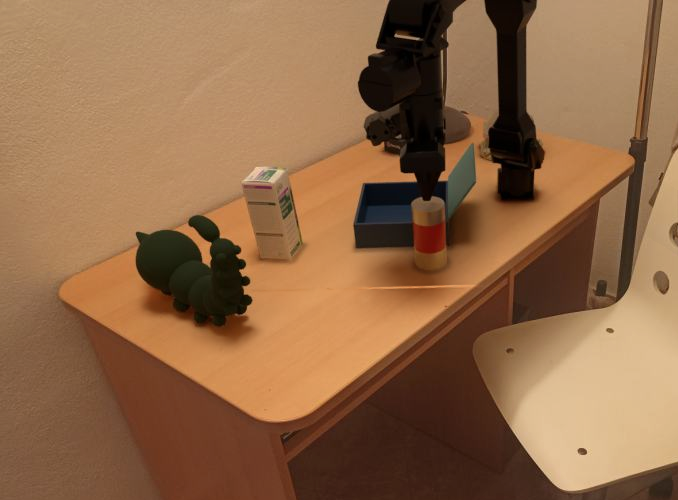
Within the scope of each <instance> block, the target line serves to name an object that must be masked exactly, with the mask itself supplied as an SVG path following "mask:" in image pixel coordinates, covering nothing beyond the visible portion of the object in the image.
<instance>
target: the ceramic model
mask: <svg viewBox="0 0 678 500" xmlns="http://www.w3.org/2000/svg"><path fill="white" fill-rule="evenodd" d="M498 115H499V108H498V109H494V110H493V112H492V113H491V114H490V115H489V116H488V117H487V118H486V119H485V120H484V122H483V127H482V137H483V141H481V142H480V143H479V145H478V146H479V148H480V149H479V154H480V156H481V157H482V158H483V159H485V160H487V161H491V162H492V158H491V154H490V149H489V148H488V145H489V135H488V130H489V128H490V127H492V126H493V124H494V122H495V121H496V119H497V117H498ZM529 116H530V118H531V119H532V121H533V123H534V124H535V120H534V118H533V115H531V114H529ZM537 141H538V142H539V144H540V145H541V147H542V148H543V145H544V144H543V141H542V139H540V138H539V139H538V138H537Z"/></svg>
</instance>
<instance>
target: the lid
mask: <svg viewBox="0 0 678 500" xmlns="http://www.w3.org/2000/svg"><path fill="white" fill-rule="evenodd" d="M447 181H448V218H449V220H450V219H451V218H452V216H454V214H455V212H456V211H457V210H458V208H459V207H460V206H461V204H462V202H463V201H464V200H465V199H466V197H467V196H468V195H469V193H471V191H472V189H473V188H474V186H475V185H476V183H477V169H476V153H475V143H474V142H471V143H470V144H469V146H468V147H467V149H466V150H465V152H464V153H463V155H462V156H461V157H460V159H459V160H458V161H457V163H456V164H455V166H454V167H453V169H452V170H451V172H450V173H449V174H448V176H447Z"/></svg>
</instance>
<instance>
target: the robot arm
mask: <svg viewBox="0 0 678 500" xmlns="http://www.w3.org/2000/svg"><path fill="white" fill-rule="evenodd" d="M466 1H467V0H388V2H387V5H386V9H385V13H384V16H383V19H382V23H381V26H380V29H379V33H378V36H377V39H376V43H375V49H376V50H380V52H378V53H377V52H373V53H372V54H369V55H368V56H367V63H368V65H367V66H365V67H363V69H362V70H361V71H360V74H359V77H358V81H357V89H358V93H359V95H360V97H361V99H362V101H363V102H364V103H365V105H366V106H367V107H368V108H369V109H370V110H372V111H374V112H373V113H370V114H368V115H367V116H366V117H365V119H364V122H363V128H364V131H365V133H366V134H365V138H366V140H368V141H370V144H371V145H372V146H373V147H378V146H380V145H382V144H383V143H384V141H387V140H390V139H392V138H395V137H397V136H399V135H400V134H401V140H406V141H407V142H408V143H407V144H406V145H405V146H404V147H403V148H402V149H401V152H400V155H399V170H400V173H402V174H406V175H407V174H414V177H415V181H417V183H418V186H419V189H420V193H421V196H422V199H423V201H430V200H431V198H432V195H433V193H434V190H435V187H436V185H437V183H438V181H440V179H441V178H440V177H441V176H442V173H443V172H445V171H446V147H444V146H445V143H446V132H445V131H444V130H447V112H446V111H445V110H444V91H443V71H442V67H443V66H442V51H443V50H446V49H448V48H449V46H450V43H449V42H448V40H447V39H445V38H444V37H443V35H444V33H445V32H446V31H447V30H448V29H449V27H450V26H451V25H452V24H453V22H454V12H455V11H456V10H457V9H458V8H459V7H461V6H462V5H463V4H464V3H466ZM483 2H484V11H485V14H486V16H487V17H488V19H489V21H490V23H491V24H492V25H493V27H494V29H495V36H496V37H495V38H496V41H495V42H496V66H497V67H496V69H497V70H496V71H497V75H496V76H497V103H498V109H499V115H498V117H497V119H496V121H495V122H494V124H493V126H492V127H490V128H489V130H488V135H489V145H488V148H489V149H490V154H491V158H492V161H491V162H492V164H499V166H500V167H498V168H497V169H496V170H497V171H496V191H497V194H498V195H499V197H500V201H501V202H502V201H503V202H504V201H507V202H508V201H534V200H535V198H536V196H535V191H534V190H535V172H536V170H541V169H542V166H543V165H542V164H543V163H544V160H545V155H546V150H545V149H544V148H543V146H542V147H541V145H540V144H539V142H538V141H537V139H538V138H537V127H536V124H535V122H534V123H533V121H532V119H531V118H530V116H529V115H530V114H529V113H528V108H527V103H528V101H527V28H528V27H527V26H528V23H529V22H530V21H531V18H532V17H533V15H534V13H535V11H536V9H537V4H538V0H483ZM399 36H402V37H399ZM406 37H409V38H406ZM412 38H415V39H412ZM416 38H417V39H416Z"/></svg>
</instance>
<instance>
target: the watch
mask: <svg viewBox="0 0 678 500" xmlns="http://www.w3.org/2000/svg"><path fill="white" fill-rule="evenodd" d="M407 143H408V142H407V141H406V140H401V134H400V135H399V136H397V137H395V138H392V139H390V140H387V141H384V142H383V147H384V148H383V149H384V151H387V152H389V153H394V154H396V155H399V156H400V152H401V149H402V148H403V147H404V146H405V145H406V144H407Z"/></svg>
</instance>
